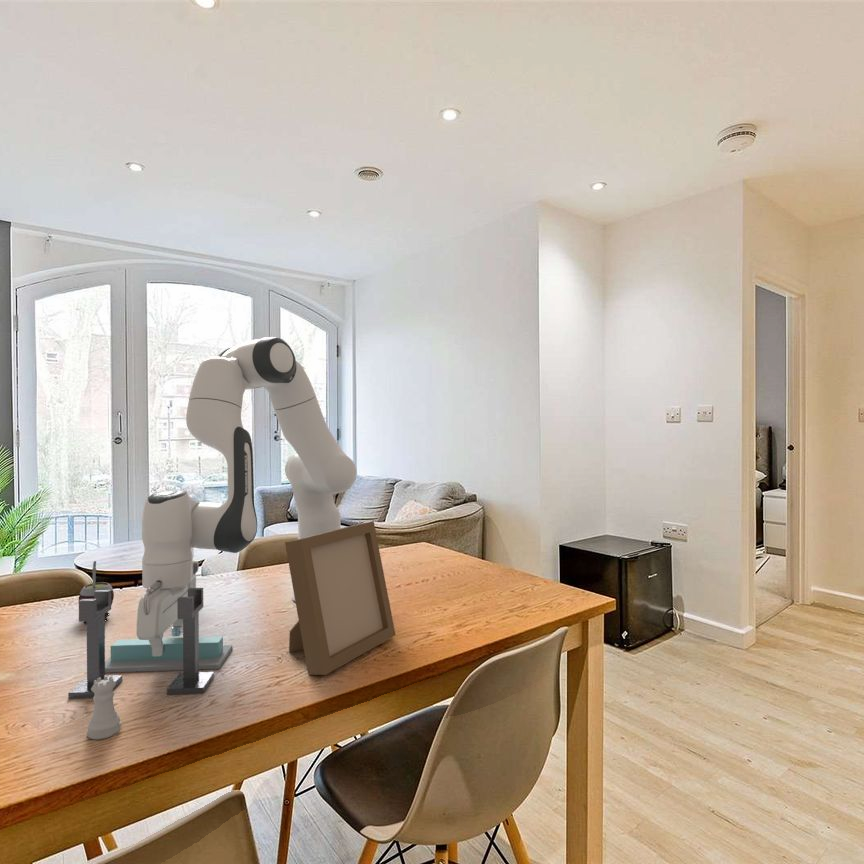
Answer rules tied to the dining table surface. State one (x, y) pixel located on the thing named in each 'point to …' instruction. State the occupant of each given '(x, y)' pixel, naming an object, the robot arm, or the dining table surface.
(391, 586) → the dining table surface
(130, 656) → the rail
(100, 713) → the rook chess piece
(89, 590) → the mate gourd
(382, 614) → the photo frame
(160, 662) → the mat
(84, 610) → the forked support stand
